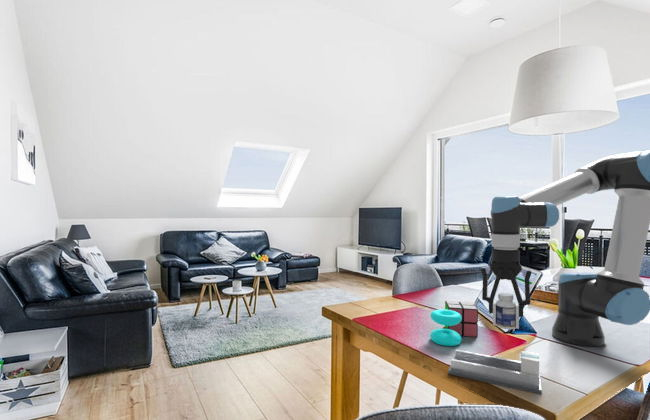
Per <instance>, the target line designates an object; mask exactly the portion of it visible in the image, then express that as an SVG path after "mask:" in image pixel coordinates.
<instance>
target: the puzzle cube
mask: <svg viewBox="0 0 650 420" xmlns="http://www.w3.org/2000/svg"><path fill="white" fill-rule="evenodd" d="M444 304H445V305H444V306H445V307H444V309H447V310H452V311H456V312H458V313H459V314H460V315H461V317H462V320H461V322H460V323H459V324H457V325H452V326H447V325H444V327H445V328H444V329H450V330H453V331H456V332H457V333H458V334H459V335H460V336H461V337H471V338H478V337H479V336H478V334H479V324H478V323H479V309H478V308H477V307H476V306H475V304H474V303H473V302H472V301H457V300H456V301H455V300H445V302H444Z"/></svg>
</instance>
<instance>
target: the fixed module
mask: <svg viewBox="0 0 650 420" xmlns="http://www.w3.org/2000/svg"><path fill="white" fill-rule="evenodd" d="M520 352H521V353H520V361H521V372H522V373H527V374H532V375H537V376H539V372H540V355H539V353H537V352H531V351H525V350H521V351H520Z"/></svg>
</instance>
